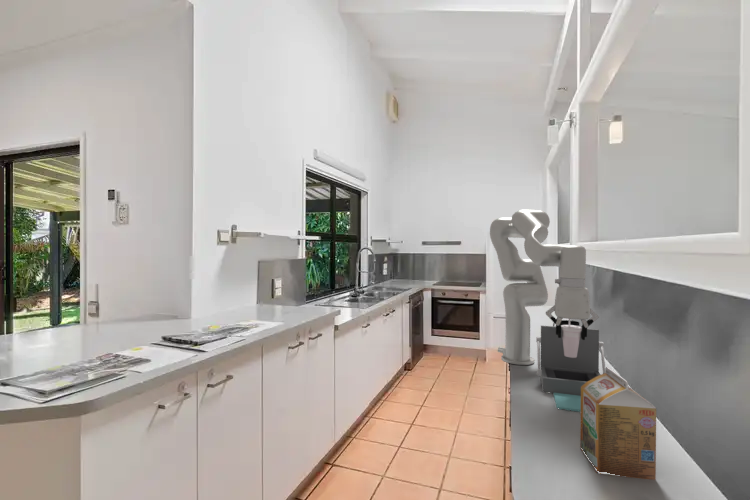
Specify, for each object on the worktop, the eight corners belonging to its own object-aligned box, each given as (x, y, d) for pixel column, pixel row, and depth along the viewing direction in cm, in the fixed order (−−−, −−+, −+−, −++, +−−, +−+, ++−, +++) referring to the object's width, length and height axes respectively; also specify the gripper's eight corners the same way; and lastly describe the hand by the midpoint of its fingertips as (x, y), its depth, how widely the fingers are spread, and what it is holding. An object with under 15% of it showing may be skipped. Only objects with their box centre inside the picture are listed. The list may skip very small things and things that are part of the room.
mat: (557, 408, 113) (557, 406, 113) (553, 394, 125) (553, 392, 125) (605, 415, 109) (605, 412, 109) (596, 399, 121) (596, 397, 121)
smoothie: (557, 352, 135) (558, 311, 134) (578, 354, 133) (579, 312, 133) (562, 358, 128) (563, 314, 128) (584, 359, 127) (585, 315, 127)
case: (538, 391, 127) (538, 333, 127) (536, 377, 142) (536, 325, 142) (612, 400, 120) (613, 339, 120) (602, 384, 135) (602, 329, 135)
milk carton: (655, 479, 79) (656, 383, 79) (597, 474, 80) (598, 380, 80) (631, 453, 89) (631, 367, 89) (580, 448, 91) (581, 365, 91)
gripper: (544, 283, 130) (543, 338, 130) (604, 285, 124) (603, 343, 124) (542, 281, 137) (541, 333, 137) (599, 283, 131) (598, 338, 131)
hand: (570, 337), depth 131 cm, fingers closed on smoothie, 6 cm apart
